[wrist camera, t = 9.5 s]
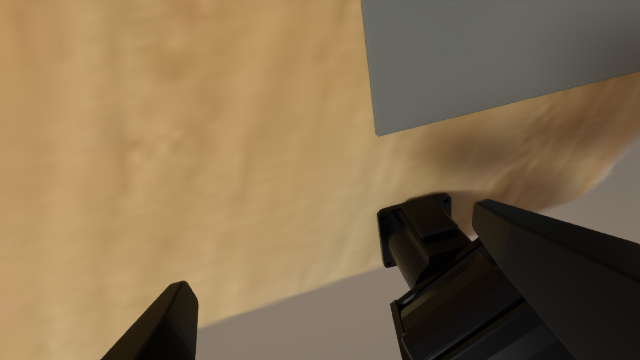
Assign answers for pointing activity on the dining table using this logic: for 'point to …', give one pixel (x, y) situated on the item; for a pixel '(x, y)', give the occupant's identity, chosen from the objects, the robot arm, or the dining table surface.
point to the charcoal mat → (489, 53)
